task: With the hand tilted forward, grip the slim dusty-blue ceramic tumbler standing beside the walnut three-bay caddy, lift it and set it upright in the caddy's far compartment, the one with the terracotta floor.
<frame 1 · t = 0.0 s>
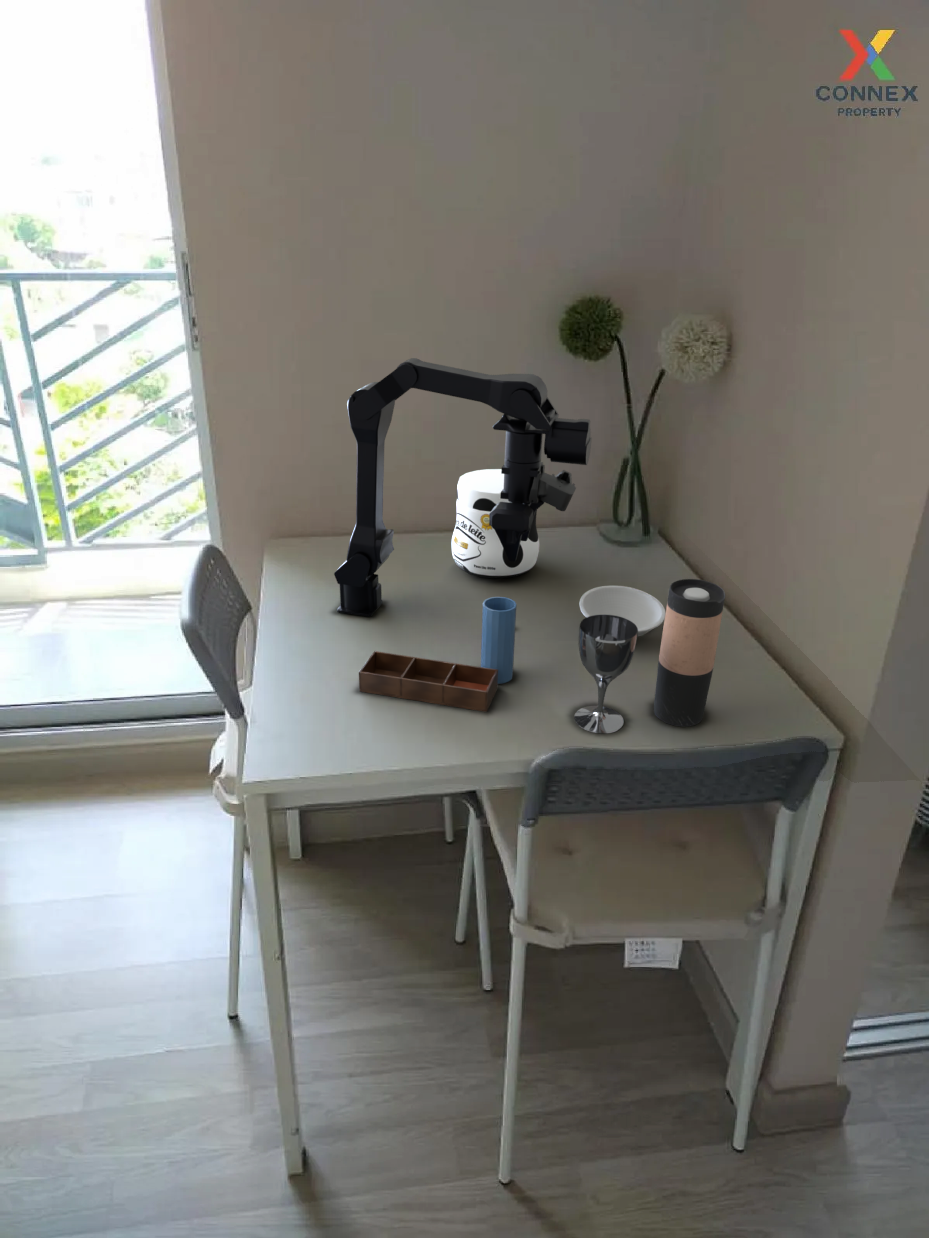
hand: (518, 550, 144), 15 cm above the table, tool pointing down, fingers open, 9 cm apart
milk container: (494, 568, 175), on the table
dish: (619, 634, 151), on the table
tumbler: (496, 675, 137), on the table
travel mug: (677, 714, 128), on the table
wine glass: (598, 720, 126), on the table
caddy: (428, 690, 133), on the table
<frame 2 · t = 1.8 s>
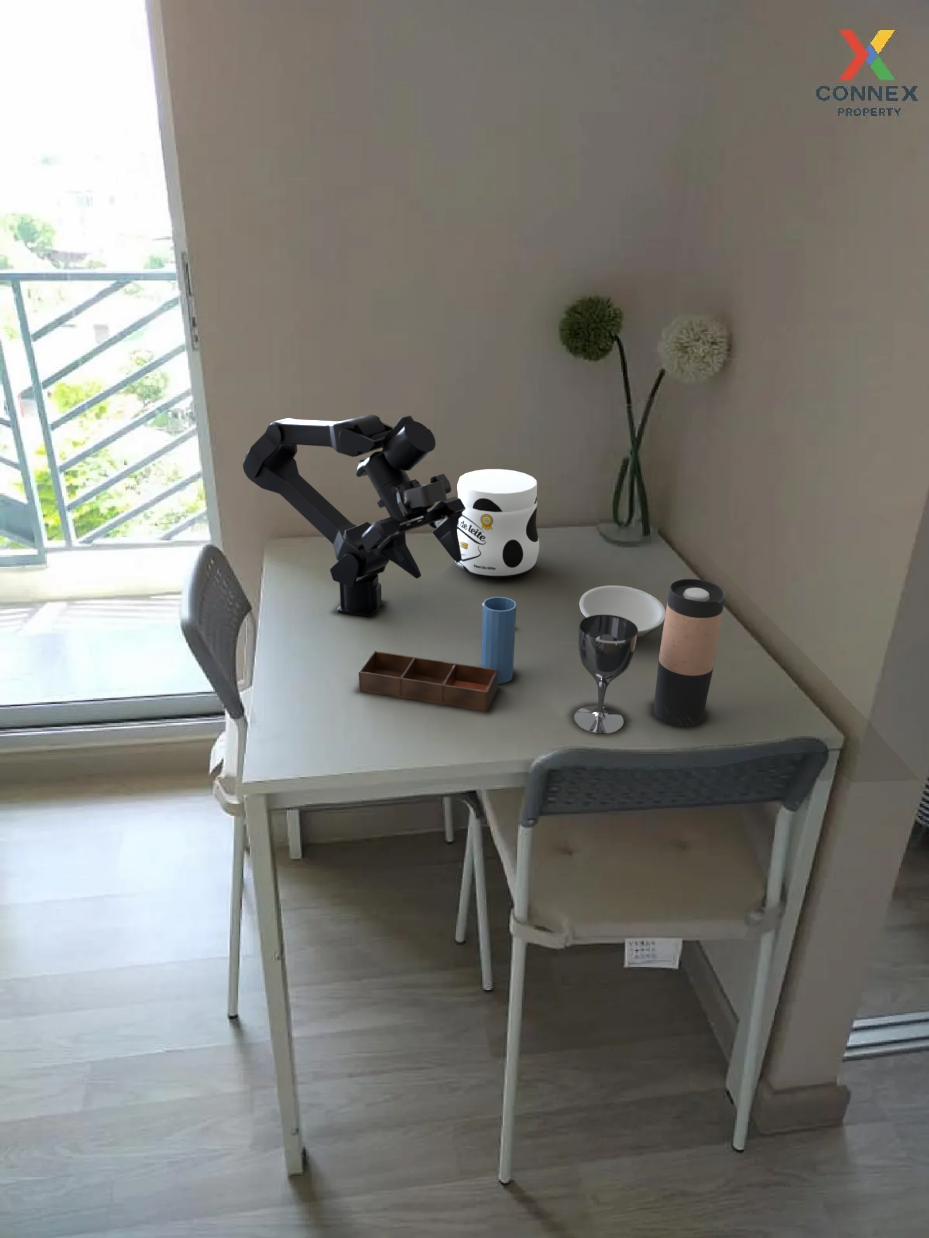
hand: (439, 569, 140), 13 cm above the table, tool tilted 45°, fingers open, 9 cm apart
nothing on the table moved.
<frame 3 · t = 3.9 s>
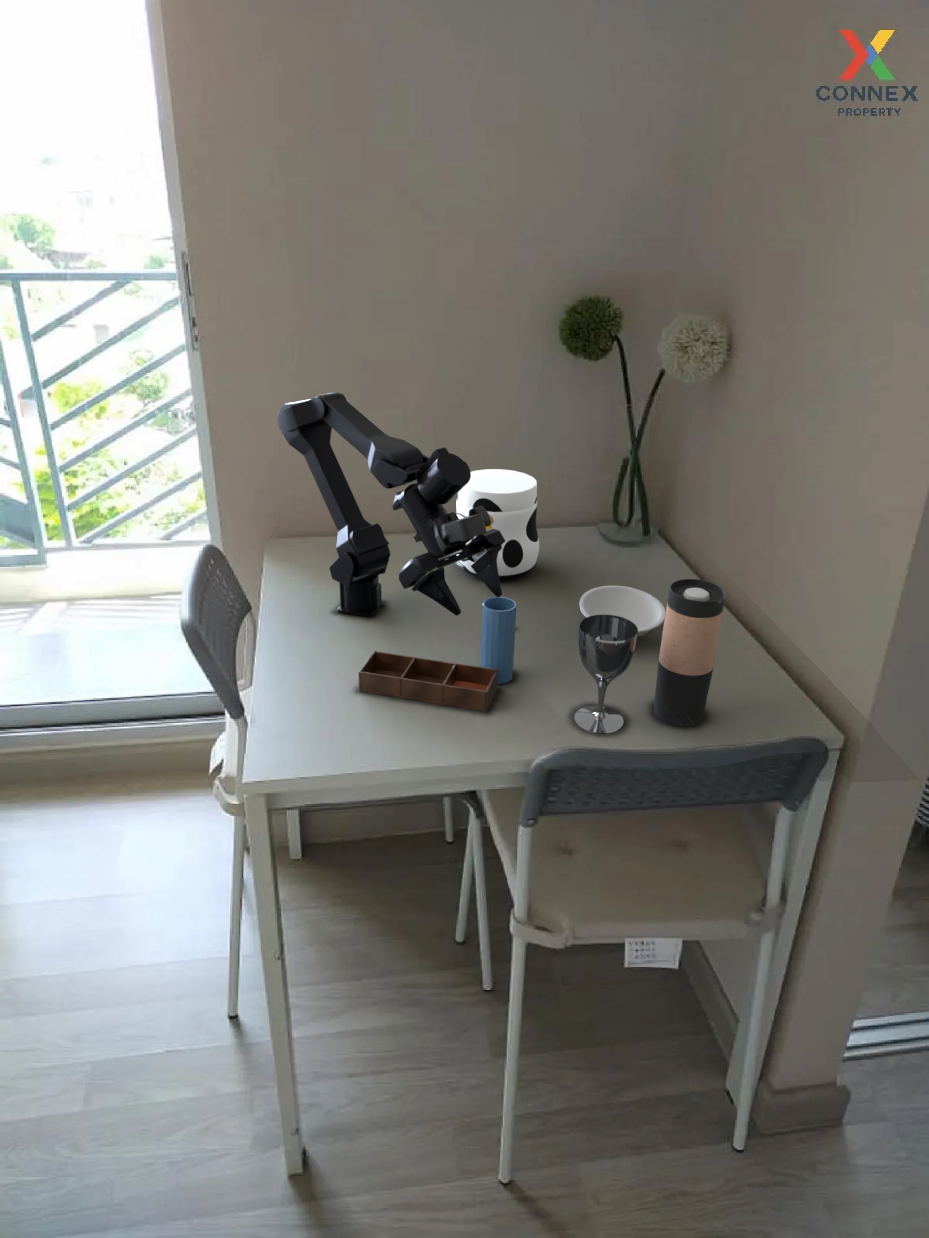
hand: (479, 604, 134), 11 cm above the table, tool tilted 45°, fingers open, 9 cm apart
nothing on the table moved.
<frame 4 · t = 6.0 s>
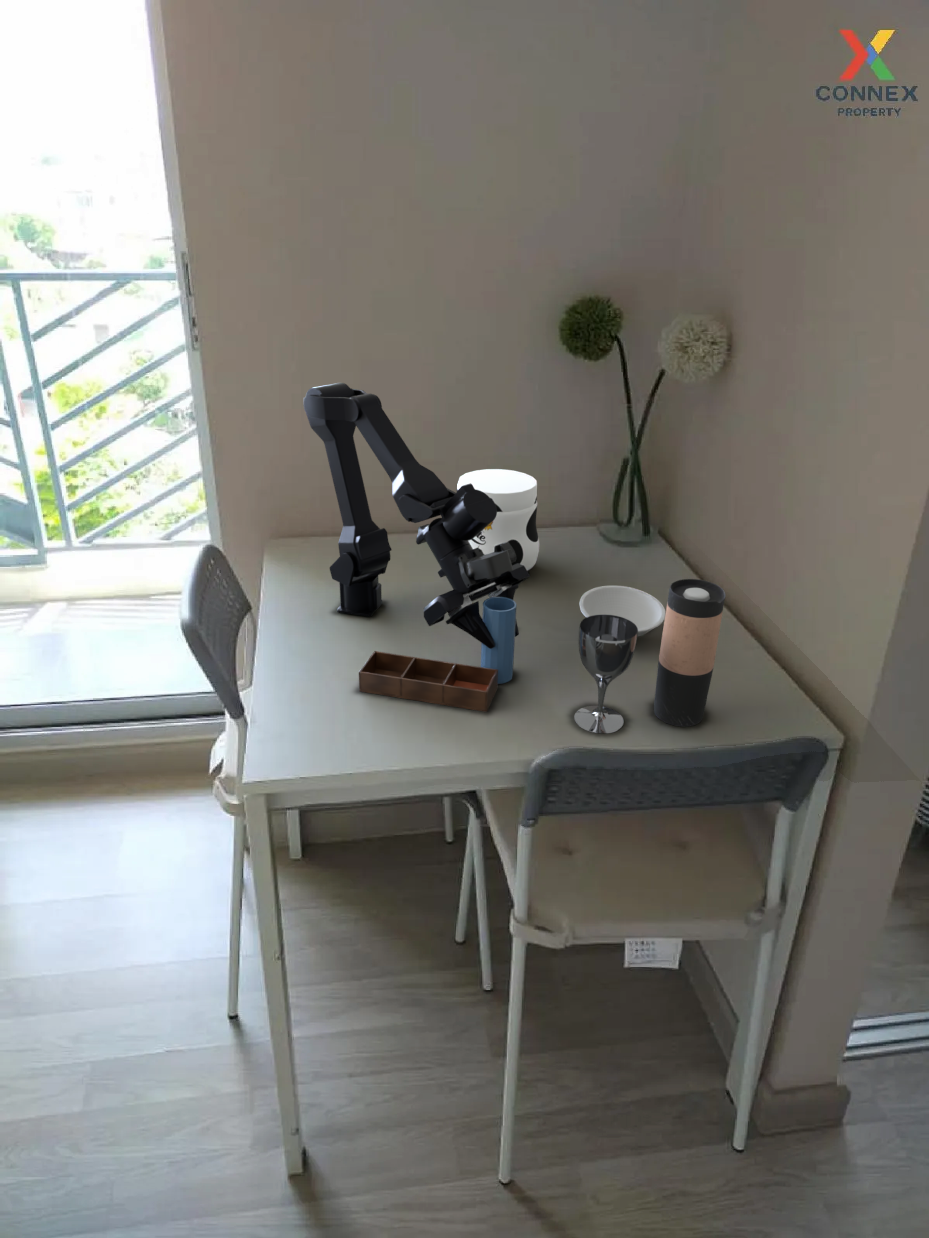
hand: (504, 641, 133), 7 cm above the table, tool tilted 45°, fingers closed on tumbler, 5 cm apart
tumbler: (496, 675, 137), on the table, touching gripper
everything else where it was.
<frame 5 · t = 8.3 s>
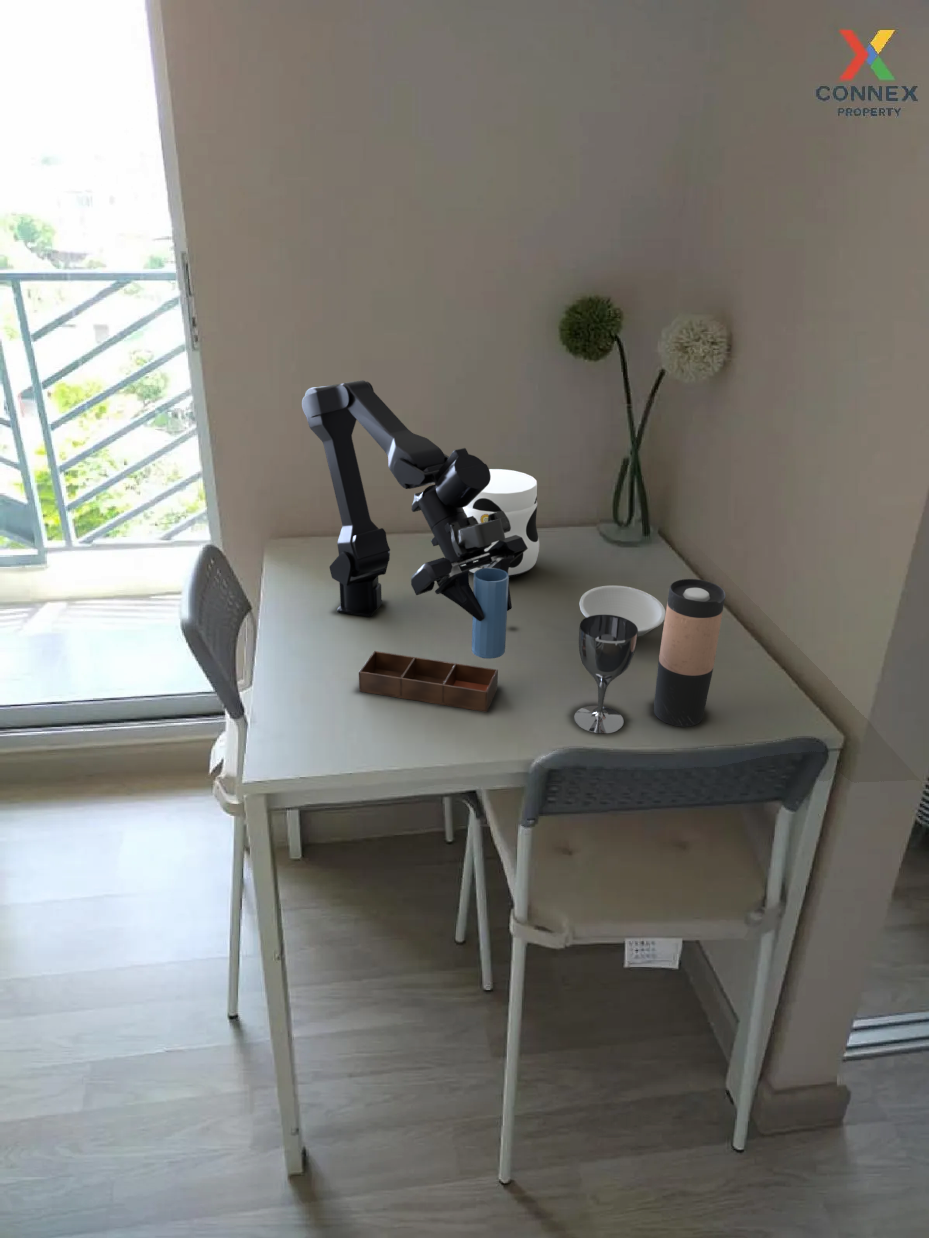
hand: (495, 614, 128), 13 cm above the table, tool tilted 45°, fingers closed on tumbler, 5 cm apart
tumbler: (488, 650, 132), point 6 cm above the table, touching gripper
everything else where it was.
when the fingers open (7 cm above the table, at t = 10.9 s): tumbler stays where it is, resting on caddy.
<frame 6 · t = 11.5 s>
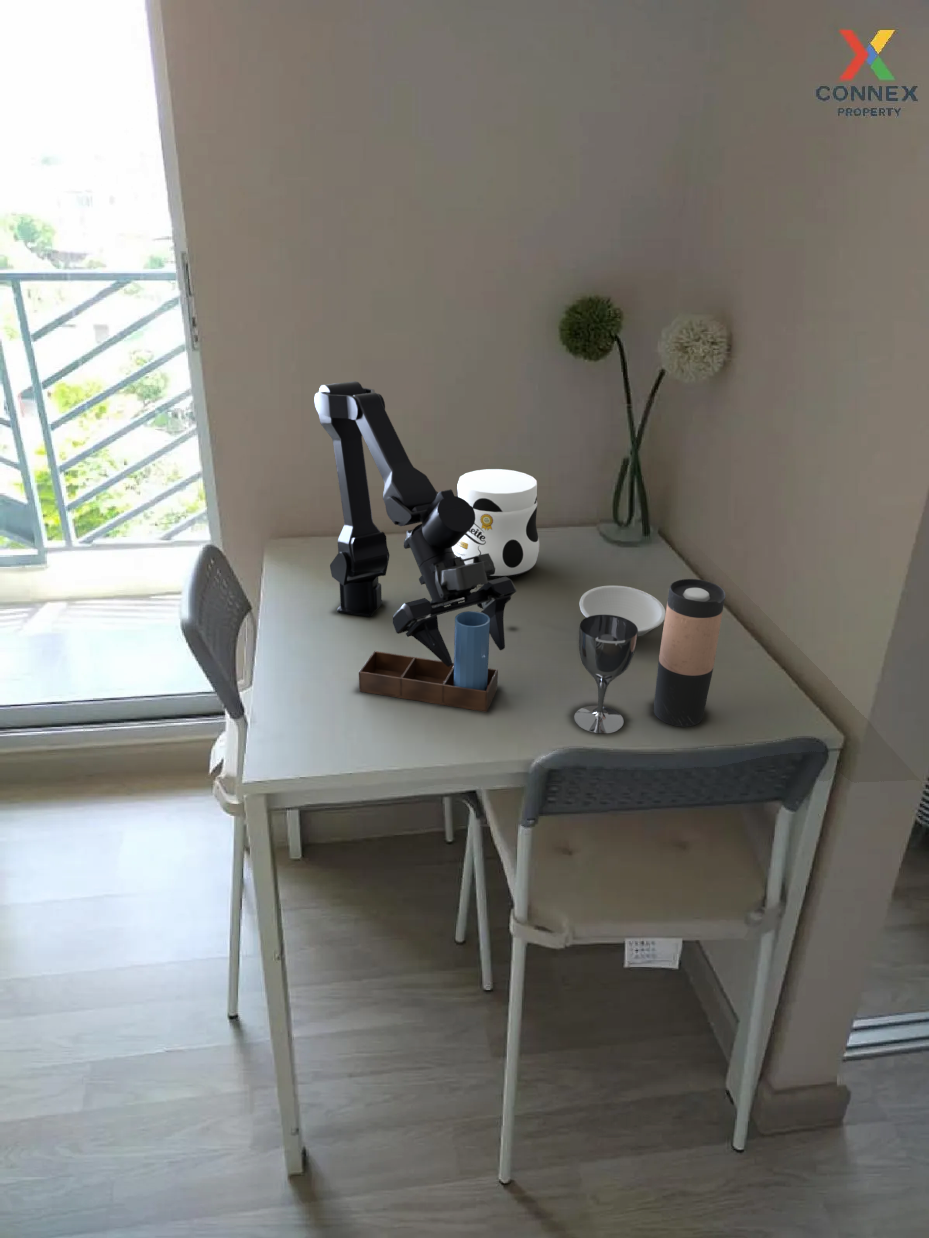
hand: (476, 657, 127), 7 cm above the table, tool tilted 45°, fingers open, 9 cm apart
tumbler: (470, 693, 131), point 1 cm above the table, touching caddy
everything else where it was.
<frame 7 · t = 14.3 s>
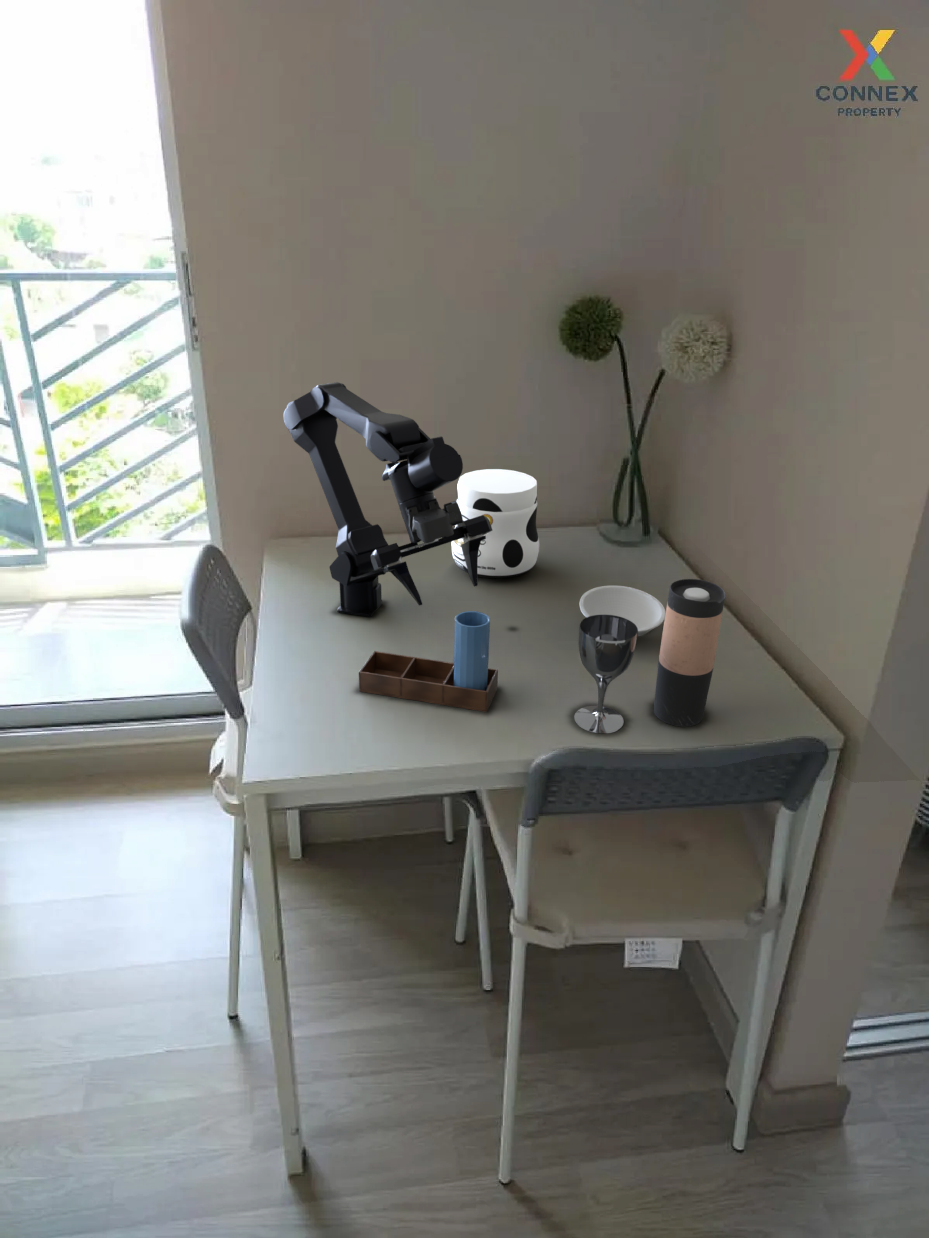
hand: (448, 595, 136), 12 cm above the table, tool tilted 30°, fingers open, 9 cm apart
nothing on the table moved.
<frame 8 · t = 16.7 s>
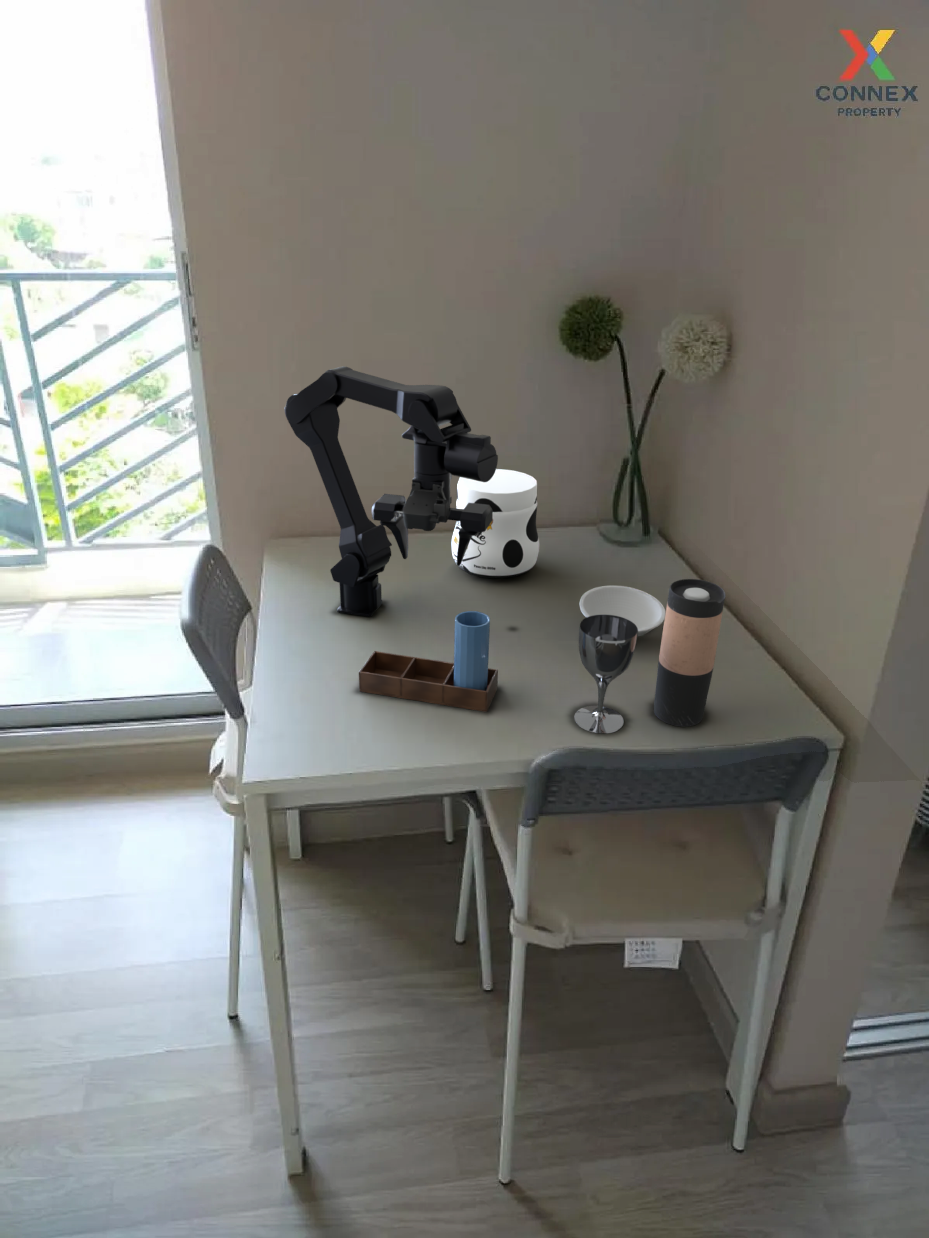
hand: (432, 561, 144), 13 cm above the table, tool pointing down, fingers open, 9 cm apart
nothing on the table moved.
at the end: tumbler 0.0 cm from the target spot in the caddy, point 0.6 cm above the caddy's base; tumbler tilted 0°; the gripper is holding nothing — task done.
